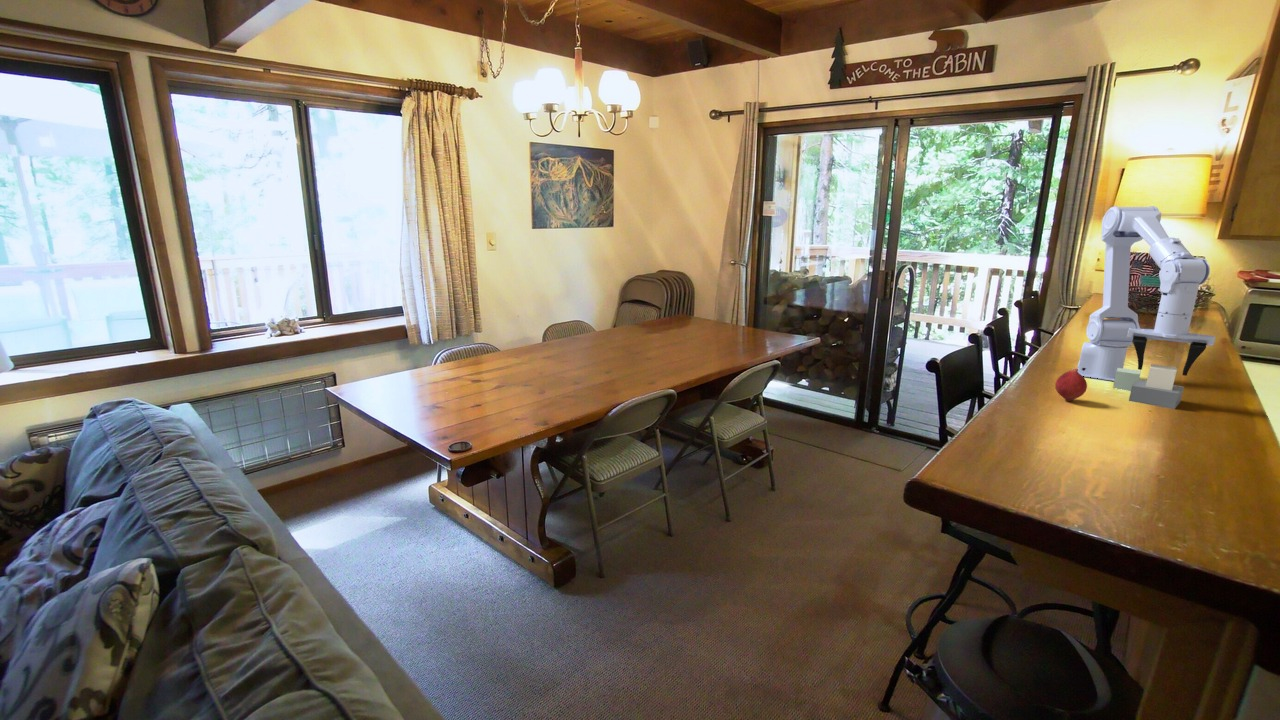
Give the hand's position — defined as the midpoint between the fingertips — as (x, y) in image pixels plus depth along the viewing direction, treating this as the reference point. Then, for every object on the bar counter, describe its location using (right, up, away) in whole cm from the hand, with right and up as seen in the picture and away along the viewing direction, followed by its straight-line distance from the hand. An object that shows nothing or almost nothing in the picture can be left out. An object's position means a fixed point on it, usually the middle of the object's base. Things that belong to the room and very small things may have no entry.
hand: (1161, 371), depth 133 cm
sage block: (+2, -4, +12) cm, 13 cm away
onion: (-20, -7, +2) cm, 21 cm away
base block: (0, -7, +2) cm, 8 cm away
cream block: (0, -3, +1) cm, 3 cm away
